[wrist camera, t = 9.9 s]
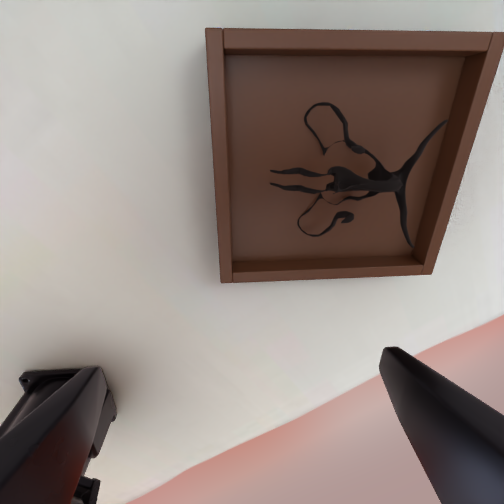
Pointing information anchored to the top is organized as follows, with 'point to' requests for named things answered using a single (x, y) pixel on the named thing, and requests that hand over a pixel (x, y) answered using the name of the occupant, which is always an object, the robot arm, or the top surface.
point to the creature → (359, 177)
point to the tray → (339, 144)
